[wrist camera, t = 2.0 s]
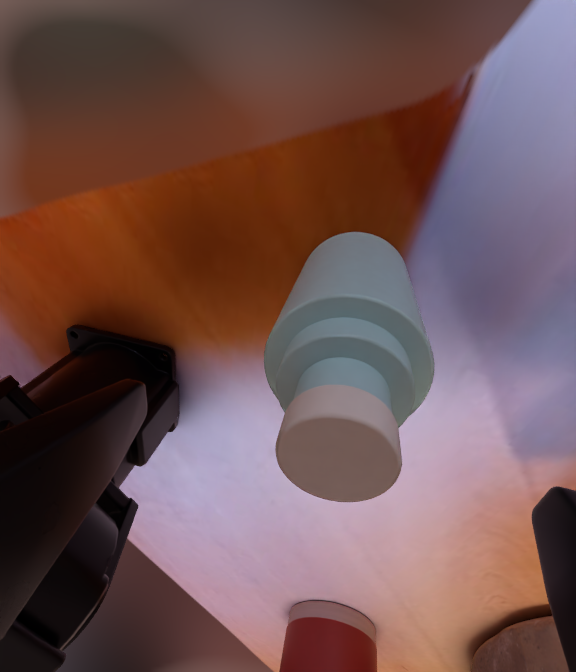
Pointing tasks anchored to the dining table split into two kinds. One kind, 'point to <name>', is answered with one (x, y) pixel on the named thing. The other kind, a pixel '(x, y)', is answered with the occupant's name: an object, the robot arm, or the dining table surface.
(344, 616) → the tin
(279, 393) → the aqua bottle
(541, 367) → the dining table surface
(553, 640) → the pottery
